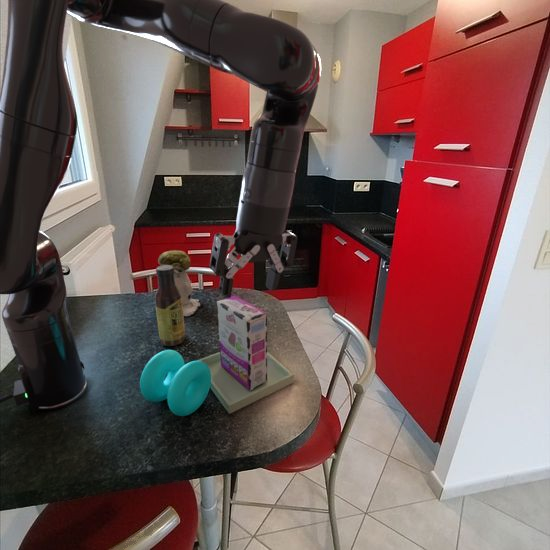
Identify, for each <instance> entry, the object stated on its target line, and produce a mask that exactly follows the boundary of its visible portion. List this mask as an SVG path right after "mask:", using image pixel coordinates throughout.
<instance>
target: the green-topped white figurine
mask: <svg viewBox="0 0 550 550" xmlns="http://www.w3.org/2000/svg"><path fill="white" fill-rule="evenodd" d="M157 263H158V264H159V266H163V265H171V266H173V267H174V281H175V285H176V287H177V289H178V291H179V293H180V295H181V297H182V307H183V316H184V317H190V316H192V315H194V314H195V312H196V311H199V310H200V309H199V308H198V307H201V302H199V301H200V300H199V299H195V298H194V299H193V298H191V297H192V294H193V292H194V288H193V286H192V280H190V278H189V275H188V273H187V272H186V271H188V270H189V269H190V268H191V267H190V266H191V258H190V257H189V255H188V254H187V253H186V252H185V251H183V250H177V249H175V250H168V251H164V252H162V253H161V254H159V257H158V259H157Z"/></svg>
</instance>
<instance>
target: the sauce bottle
mask: <svg viewBox="0 0 550 550" xmlns="http://www.w3.org/2000/svg"><path fill="white" fill-rule="evenodd" d="M155 274H156V276H157V285H158V288H157V289H156V291H155V294H154V301H155V312H156V319H157V328H158V336H159V338H160V343H161V344H162V345H163V346H165V347H174V346H178V345H181V344H182V343H183V342H184V341H185V337H186V336H185V335H186V328H185V318H184V317H185V316H183V307H182V297H181V295H180V293H179V291H178V289H177V287H176V285H175V281H174V267H173V266H171V265H163V266H162V265H159V266H157V267H156V268H155Z"/></svg>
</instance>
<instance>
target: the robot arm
mask: <svg viewBox="0 0 550 550" xmlns="http://www.w3.org/2000/svg"><path fill="white" fill-rule="evenodd" d="M67 15H68V16H69V17H72V18H73V19H75V20H77V21H79V22H81V23H84V24H86V25H87V24H88V25H91V26H96V27H99V28H104V29H108V30H114V31H118V32H122V33H127V34H131V35H134V36H137V37H140V38H144V39H145V40H149V41H152V42H154V43H157V44H159V45H161V46H164V47H166V48H168V49H170V50H172V51H175V52H177V53H179V54H181V55H183V56H185V57H187V58H190V59H192V60H193V61H197V62H198V63H201V64H203V65H205V66H207V67H209V68H212V69H214V70H216V71H218V72H222V73H225V74H229V75H234V76H236V77H237V78H239V79H241V80H243V81H244V82H246V83H249V84H251V85H252V86H255V87H256V88H259V89H260V90H262V91H265V92H266V93H265V98H264V103H263V106H262V112H261V115H260V116H259V117H258V118H257V119H256V120H255V121H254V122H253V125H252V128H251V132H250V138H249V145H248V152H247V159H246V164H245V167H244V171H243V174H242V178H241V179H242V180H241V186H240V193H239V200H238V207H237V214H236V222H235V223H236V224H235V225H236V228H235V231H234V233H233V234H232V235H224V234H222V233H221V232H216V233H215V234H214V237H213V242H212V249H211V253H210V254H211V255H210V259H209V265H208V266H209V269H210V270H211V271H212V272H213V273H214V275H215V276H216V277H219V283H218V284H219V285H218V290H219V292H220V293H221V294H222V295H223V296H224V299H225V298H230V297H231V296H232V294H233V286H234V280H235V279H234V276H235V274H236V273H237V272H238V271H239V270H242V269H243V268H245V266H246V265H247V264H254V263H256V262H259V263H260V262H261V263H265V262H267V261H268V264H269V265H270V266H269V267H268V270H267V274H266V279H265V287H266V289H268V290H269V291H270V292H274V291H276V289H277V287H278V285H279V284H280V283H279V282H280V278H281V273H283V271H284V269H286V268H287V269H291V268H292V267H293V265H294V261H295V256H296V249H297V244H298V240H299V239H298V236H297V235H296V234H294V233H292V232H291V231H289V230H286V227H287V223H288V218H289V213H290V210H291V204H292V199H293V195H294V190H295V183H296V174H297V168H298V164H299V159H300V155H301V151H302V150H301V149H302V143H303V137H304V133H305V130H306V127H307V124H308V121H309V120H310V119H309V118H310V115H311V113H312V109H313V106H314V103H315V99H316V96H317V92H318V89H319V84H320V80H321V71H322V63H321V58H320V56H319V53H318V51H317V49H316V48H315V46H314V44H313V43H312V41H311V39H310V38H309V37H308V36H307V35H306V33H304V32H303V30H300V29H299V28H298V27H296V26H294V25H292V24H290V23H287V22H285V21H283V20H279V19H276V18H274V17H270V16H266V15H262V14H258V13H253V12H249V11H245V10H242V9H240V8H239V7H237V6H235V5H234V4H231V3H229V2H227V1H224V0H7V25H6V27H7V30H6V44H5V52H4V62H3V71H2V72H3V73H2V80H1V85H0V86H1V87H0V295H4V296H5V295H8V296H7V297H8V298H7V300H6V303H5V305H4V307H3V309H2V311H1V318H2V321H3V324H4V326H5V330H6V332H7V335H8V338H9V340H10V343H11V347H12V349H13V352H14V355H15V358H16V361H17V365H18V368H17V371H18V375H19V379H18V380H15V381H14V382H13V383H14V384H13V392H11V393H8V394H6V395H4V396H0V404H2V403H4V402H5V401H8V400H10V399H12V398H13V399H14V401H15V404H16V406H17V407H18V406H19V407H20V406H22V405H24V404H27V403H29V406H30V408H31V412H32V413H36V412H39V411H54V410H57V409H61V408H64V407H67V406H68V405H70V404H72V403H74V402H76V401H77V400H78V399H79V398H81V397H82V396H83V395H84V393H85V392H86V390H87V388H88V382H87V379H86V375H85V373H84V370H86V368H85V365H84V363H83V362H82V361H81V358H80V355H79V351H78V346H77V342H76V339H75V336H74V332H73V328H72V325H71V321H70V317H69V313H68V309H67V305H66V304H67V303H66V302H67V297H68V296H67V295H68V292H67V291H68V290H67V286H66V285H67V284H66V280H65V275H64V271H63V265H62V261H61V258H60V254H59V251H58V249H57V247H56V245H55V243H54V242H53V241H52V239H51V238H50V237H49V236H48V235H46V234H45V233H44V232H42V231H40V230H41V226H42V223H43V222H42V221H43V219H44V215H45V213H46V211H47V209H48V207H49V205H50V204H51V201H52V200H53V198H54V197H55V195H56V193H57V192H58V190H59V187H60V186H61V184H62V183H63V181H64V178H65V177H66V174H67V171H68V169H69V167H70V164H71V161H72V157H73V152H74V147H75V142H76V139H77V131H78V113H77V109H76V105H75V100H74V97H73V94H72V88H71V86H70V83H69V79H68V75H67V71H66V67H65V61H64V51H63V49H64V48H63V47H64V33H65V27H66V26H65V25H66V19H67ZM232 246H234V247H233V248H232V249H231V247H232ZM280 246H281V247H280ZM279 247H280V254H279V253H278V252H277V250H278V248H279ZM229 251H230V252H229ZM228 252H229V253H228ZM239 256H240V257H239ZM238 257H239V258H238Z"/></svg>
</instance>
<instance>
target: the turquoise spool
mask: <svg viewBox="0 0 550 550" xmlns="http://www.w3.org/2000/svg"><path fill="white" fill-rule="evenodd" d="M210 385H211V372H210V369H209V367H208V366H207V364H205V363H204V362H202V361H197V360H192V361H189V362H187V363H185V360H184V358H183V355H181V354H180V352H178V351H177V350H173V349H164V350H162V351H159V352H157V353H156V354H155V355H153V356H152V357H151V358H150V359H149V360H148V362H147V363H146V365H145V366H144V368H143V370H142V372H141V376H140V380H139V390H140V393H141V396H142V397H143V398H144V399H145V400H147V401H148V402H152V403H160V402H163V401H165V400H166V402H167V405H168V408H169V410H170V412H171V413H173V414H174V415H175V416H177V417H187V416H189V415H191V414H193V413H195V412H196V411H197V410H198V409H199V408H200V407H201V406H202V405H203V403H204V402H205V401H206V399H207V396H208V394H209V392H210V390H211V388H210Z"/></svg>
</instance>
